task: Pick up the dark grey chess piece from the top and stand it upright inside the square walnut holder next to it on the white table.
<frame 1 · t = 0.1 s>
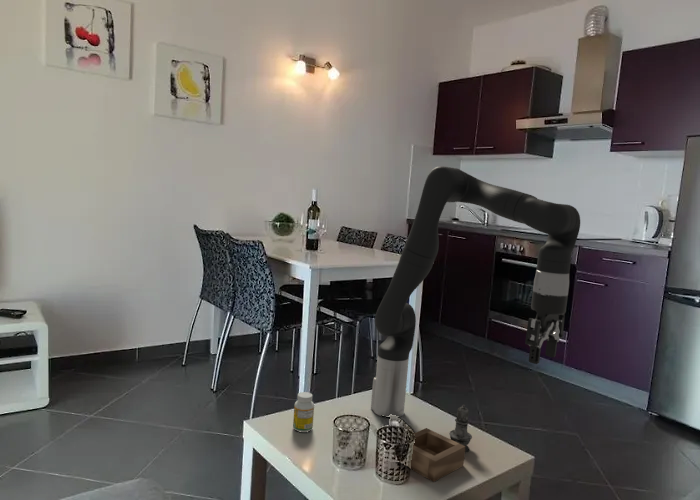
hand: (542, 359, 120), 29 cm above the table, tool pointing down, fingers open, 8 cm apart
dark grey chess piece: (459, 448, 136), on the table
supplement bottle: (302, 429, 140), on the table
walnut holder: (428, 462, 127), on the table
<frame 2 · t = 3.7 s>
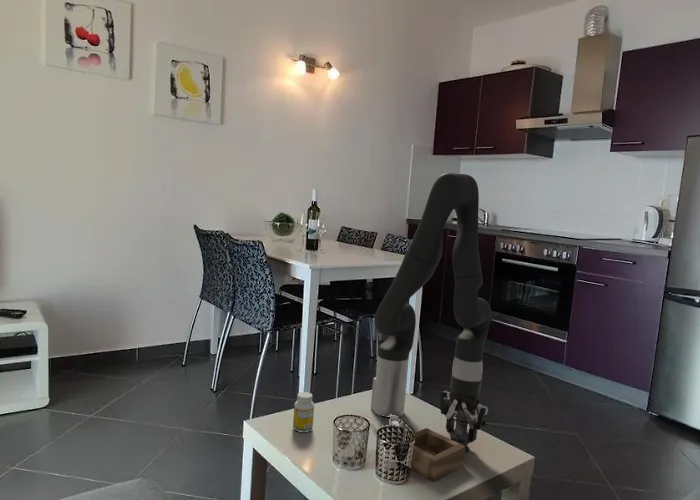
hand: (460, 436, 136), 3 cm above the table, tool pointing down, fingers closed on dark grey chess piece, 6 cm apart
dark grey chess piece: (459, 448, 136), on the table, touching gripper
everything else where it was.
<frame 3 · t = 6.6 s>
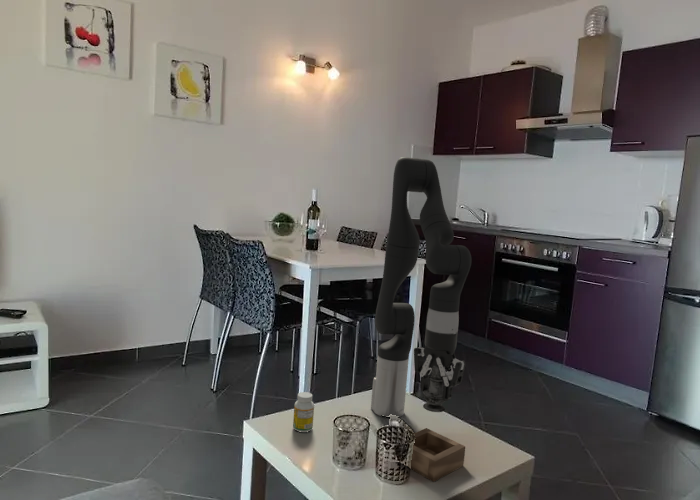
hand: (435, 395, 125), 17 cm above the table, tool pointing down, fingers closed on dark grey chess piece, 6 cm apart
dark grey chess piece: (433, 408, 126), point 14 cm above the table, touching gripper
everything else where it was.
when the fingers open (6 cm above the table, at t = 9.5 s): dark grey chess piece drops 2 cm, resting on walnut holder.
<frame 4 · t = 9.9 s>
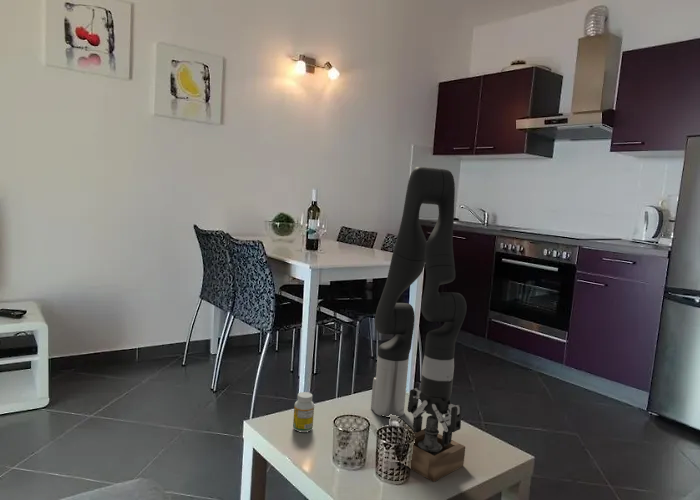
hand: (431, 438, 126), 6 cm above the table, tool pointing down, fingers open, 8 cm apart
dark grey chess piece: (428, 460, 127), point 1 cm above the table, touching walnut holder
everything else where it was.
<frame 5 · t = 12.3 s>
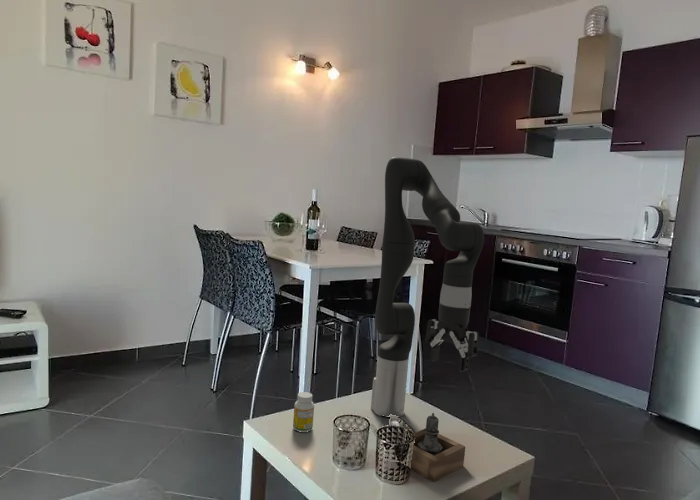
hand: (448, 366, 129), 23 cm above the table, tool pointing down, fingers open, 8 cm apart
nothing on the table moved.
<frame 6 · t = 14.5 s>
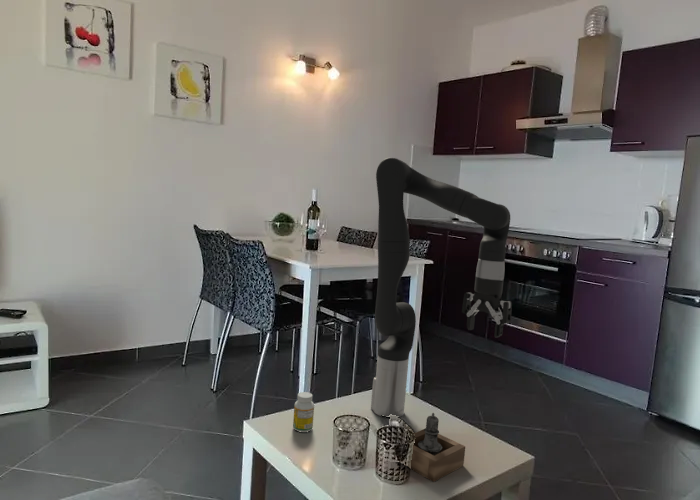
hand: (483, 333, 145), 28 cm above the table, tool pointing down, fingers open, 8 cm apart
nothing on the table moved.
at the end: dark grey chess piece 0.1 cm off-centre on the walnut holder, point 0.6 cm above the walnut holder's base; dark grey chess piece tilted 0°; the gripper is holding nothing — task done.
